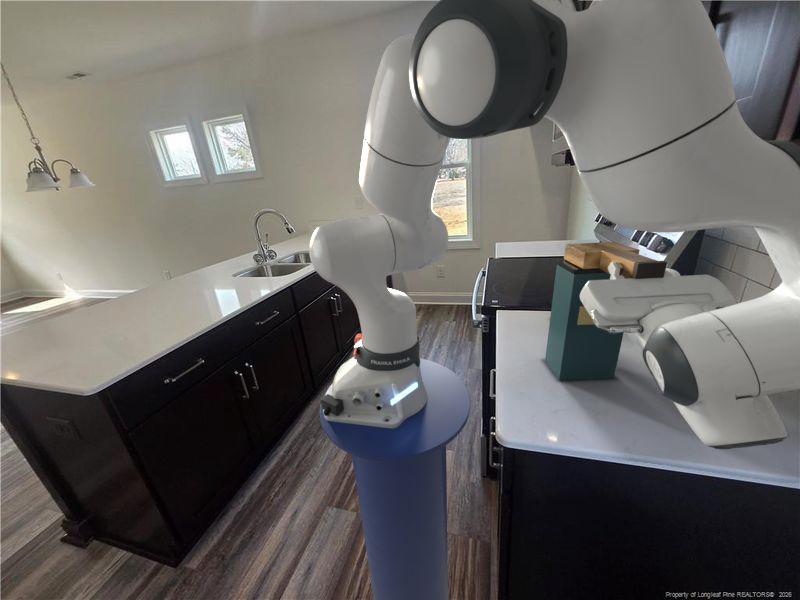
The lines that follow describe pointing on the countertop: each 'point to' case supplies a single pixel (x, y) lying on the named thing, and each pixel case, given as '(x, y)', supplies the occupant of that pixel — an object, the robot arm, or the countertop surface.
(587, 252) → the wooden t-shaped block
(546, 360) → the teal box with label
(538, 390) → the countertop surface
